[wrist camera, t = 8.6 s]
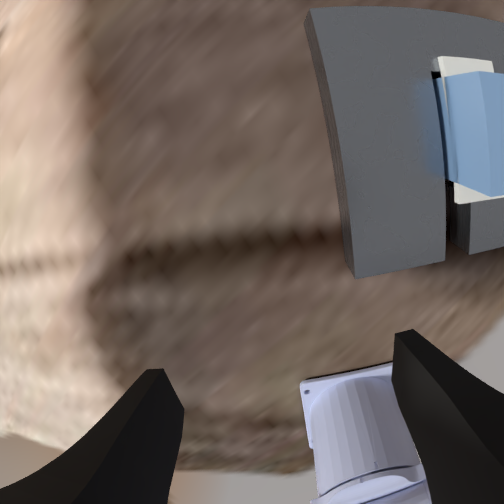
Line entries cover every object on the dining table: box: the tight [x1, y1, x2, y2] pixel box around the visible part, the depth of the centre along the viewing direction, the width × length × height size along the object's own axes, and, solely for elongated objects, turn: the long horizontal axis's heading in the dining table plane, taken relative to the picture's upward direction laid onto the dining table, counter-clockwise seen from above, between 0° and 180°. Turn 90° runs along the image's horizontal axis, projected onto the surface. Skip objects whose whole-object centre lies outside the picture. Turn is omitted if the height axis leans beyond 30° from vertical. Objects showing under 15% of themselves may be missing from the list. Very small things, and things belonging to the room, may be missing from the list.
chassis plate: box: [304, 6, 504, 279], centre depth 14 cm, size 14×16×2 cm
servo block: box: [432, 56, 504, 204], centre depth 13 cm, size 8×4×6 cm, turn 12°
